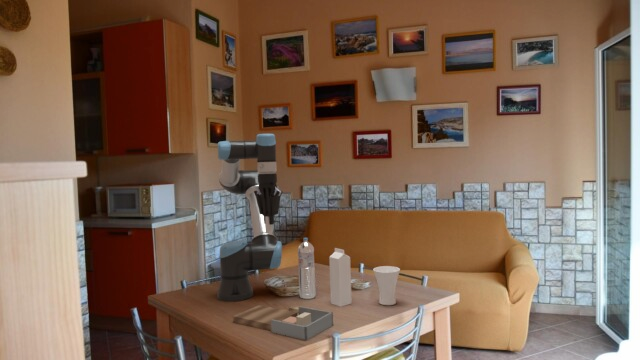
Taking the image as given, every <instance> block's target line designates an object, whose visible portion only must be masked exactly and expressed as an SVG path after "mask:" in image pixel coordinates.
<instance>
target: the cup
mask: <svg viewBox="0 0 640 360" xmlns="http://www.w3.org/2000/svg"><path fill="white" fill-rule="evenodd" d="M400 271H401V268H399V267H397V266H393V265H392V266H391V265H383V266H381V265H380V266H377V267H374V268H373V272H374V275H375V279H376V281H377V285H378V286H377V287H378V291H379V292H378V293H379V300H378V301H379V302H378V303H379V304H380V305H383V306H393V305H396V303H397V300H396V288H397V282H398V279H399V275H400Z"/></svg>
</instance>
